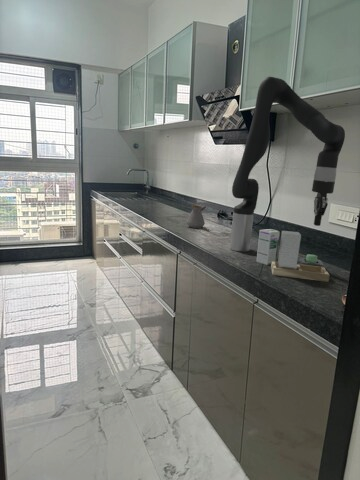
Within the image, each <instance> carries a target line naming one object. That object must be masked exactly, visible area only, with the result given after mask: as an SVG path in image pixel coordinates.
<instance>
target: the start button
mask: <svg viewBox="0 0 360 480" xmlns="http://www.w3.org/2000/svg"><path fill="white" fill-rule="evenodd" d="M305 258H306V262H310V263H317V260H318V255H316V254H310V253H308V254H306V256H305Z"/></svg>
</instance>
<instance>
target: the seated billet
mask: <svg viewBox="0 0 360 480" xmlns="http://www.w3.org/2000/svg"><path fill="white" fill-rule="evenodd" d="M280 234H281V235H280V240H279V242H280V243H279V248H278V255H277V262H278V263H277V268H283V269H291V270H296V267H297V264H298V261H299V253H300V252H299V251H300V246H301V245H300V244H301V241H302V240H301V239H302V234H301V233H300V232H299V231H290V230H281V233H280Z"/></svg>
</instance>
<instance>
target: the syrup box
mask: <svg viewBox="0 0 360 480" xmlns="http://www.w3.org/2000/svg"><path fill="white" fill-rule="evenodd" d="M280 234H281V233H280V230H277V229H272V228H269V229H267V228H266V229H259V234H258V242H257V243H258V244H257V253H256V260H255V262H257V263H259V264H263V265H265V266H268V265H269V266H271V263H272V261H275V262H277V261H278V253H279V244H280V243H279V242H280V236H281V235H280Z"/></svg>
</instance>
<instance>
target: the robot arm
mask: <svg viewBox="0 0 360 480" xmlns="http://www.w3.org/2000/svg"><path fill="white" fill-rule="evenodd" d="M273 104H279V105H280V106H283V107H284V108H286V109H287V110H288V111H289V112H290V113H291V114H292V115H293V117H294V118H295V119H296V121H298V123H300V124H301V125H302V126H303V127H305V129H307V130H309V131H310V132H311V133H312V134H313V136H314V137H315V138H317V140H319V141H320V142H321V143H324V146H323V149H322V151H319V153H318V155H317V160H316V165H315V166H316V167H315V170H314V175H313V181H312V188H311V192H312V193H313V192H314V193H317V194H316V196H314V200H313V202H314V203H313V213H314V220H313V225H314V226H317V227H319V226H321V222H322V217H323V216H325V213H326V210H327V208H328V205H329V204H328V201H329V199H328V195H329V194H333V193H334V191H335V190H334V189H335V183H336V177H337V167H338V161H339V156H340V153H341V151H342V148H343V145H344V142H345V139H346V132H345V129H344V127H343V126H342V125H338V124H335V123H334V122H331V121H330V120H329V119H328V118H326V116H325V115H324V113H322V112H321V111H319V110H318V109H317V108H315V107H314V106H312V104H310V103H308V102H307V101H305V100H304V99H303V98H302V97H300V96H299V95H298V94H297V92H295V91H294V90H293V88H291V86H290V85H289V84H288V83H287V82H286V80H284V79H282V78H279V77H274V76H267V77H265V78H264V79H263V80H261V82H260V85H259V87H258V90H257V95H256V101H255V107H254V113H253V116H252V119H251V120H252V121H251V124H250V127H249V131H248V134H247V137H246V142H245V146H244V149H243V153H242V156H241V157H242V158H241V160H240V164H239V167H238V169H237V172H236V174H235V176H234V180H233V182H232V187H231V190H232V191H231V193H232V196H233V198H236V199H241V200H242V199H243V200H242V201H241V202H240V203H239V204H237V205H235V206H234V207H233V212H232V213H233V214H232V223H231V233H230V242H229V243H230V244H229V249H230V250H232V251H235V252H249V251H250V247H251V241H252V231H253V223H254V216H255V215H254V214H255V210H256V207H257V204H258V203H257V202H258V199H259V198H258V197H259V190H260V189H259V188H260V186H259V183H258V181H257V180H256V179H255V178H249V177H250V174H251V172H252V170H253V169H254V167H255V166H256V165H257V164H258V162H259V161H260V160H261V159H262V158H263V157H264V155H265V154H266V152H267V150H268V146H269V143H270V139H271V127H270V113H271V109H272V106H273Z"/></svg>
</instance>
